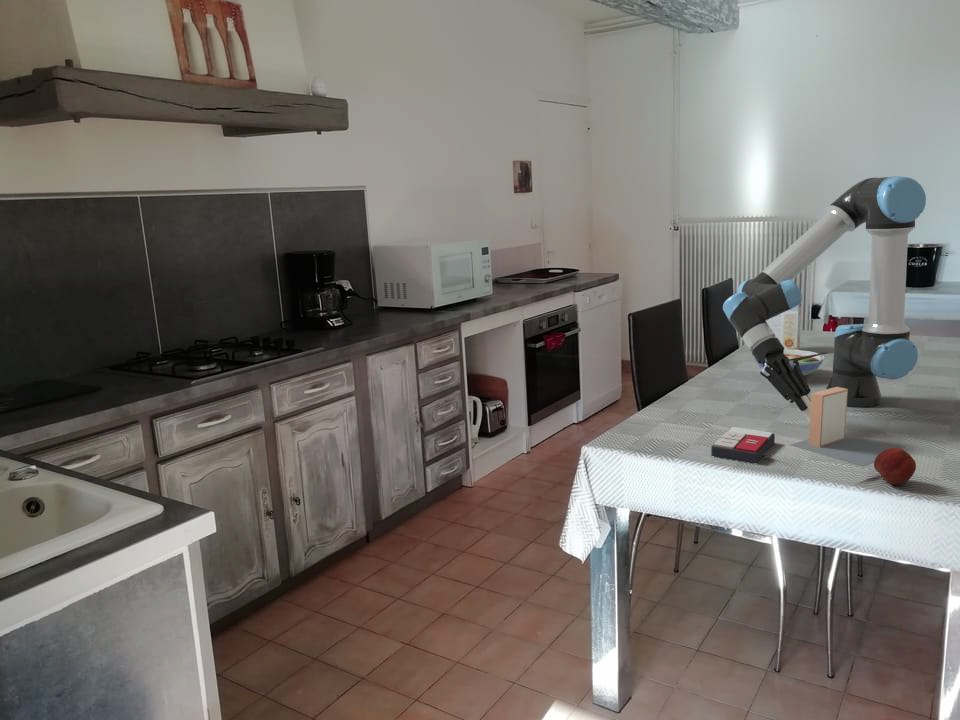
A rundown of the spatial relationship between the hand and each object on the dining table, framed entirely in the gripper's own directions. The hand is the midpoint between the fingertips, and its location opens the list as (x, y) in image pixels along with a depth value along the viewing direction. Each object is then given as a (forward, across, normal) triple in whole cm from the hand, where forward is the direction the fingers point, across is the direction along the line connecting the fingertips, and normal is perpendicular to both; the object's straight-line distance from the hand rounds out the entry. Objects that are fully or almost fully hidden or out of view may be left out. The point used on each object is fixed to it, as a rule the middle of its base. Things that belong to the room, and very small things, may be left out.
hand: (815, 420), depth 189 cm
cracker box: (-49, -84, -58) cm, 113 cm away
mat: (+10, -1, +2) cm, 10 cm away
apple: (+23, +11, +15) cm, 29 cm away
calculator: (0, +19, -9) cm, 21 cm away
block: (+6, -1, -1) cm, 6 cm away
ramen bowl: (-30, -53, -39) cm, 73 cm away
